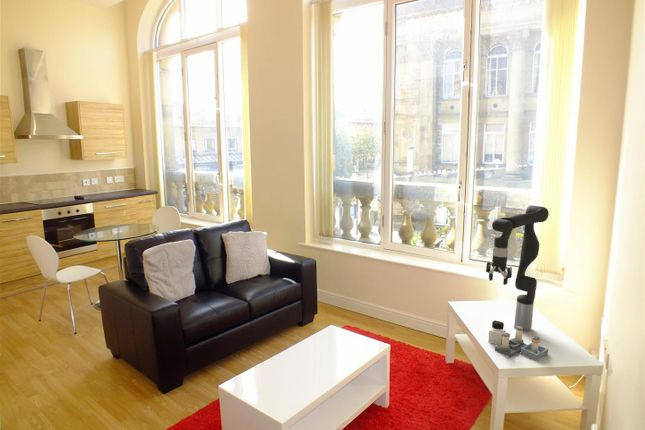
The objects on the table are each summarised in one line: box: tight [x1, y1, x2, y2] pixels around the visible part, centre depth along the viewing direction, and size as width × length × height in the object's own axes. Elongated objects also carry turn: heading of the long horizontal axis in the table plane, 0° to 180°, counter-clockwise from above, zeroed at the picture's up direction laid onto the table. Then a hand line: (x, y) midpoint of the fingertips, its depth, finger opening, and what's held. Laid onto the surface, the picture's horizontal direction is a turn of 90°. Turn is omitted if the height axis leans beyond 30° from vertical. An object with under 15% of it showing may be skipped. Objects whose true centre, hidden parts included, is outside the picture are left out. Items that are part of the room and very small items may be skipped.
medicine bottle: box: [488, 319, 506, 346], centre depth 234 cm, size 7×7×12 cm
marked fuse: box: [530, 335, 540, 354], centre depth 220 cm, size 4×4×9 cm
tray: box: [519, 342, 549, 362], centre depth 221 cm, size 11×9×3 cm
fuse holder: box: [494, 326, 528, 358], centre depth 225 cm, size 18×9×11 cm, turn 125°
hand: (497, 282), depth 232 cm, fingers open, 8 cm apart
